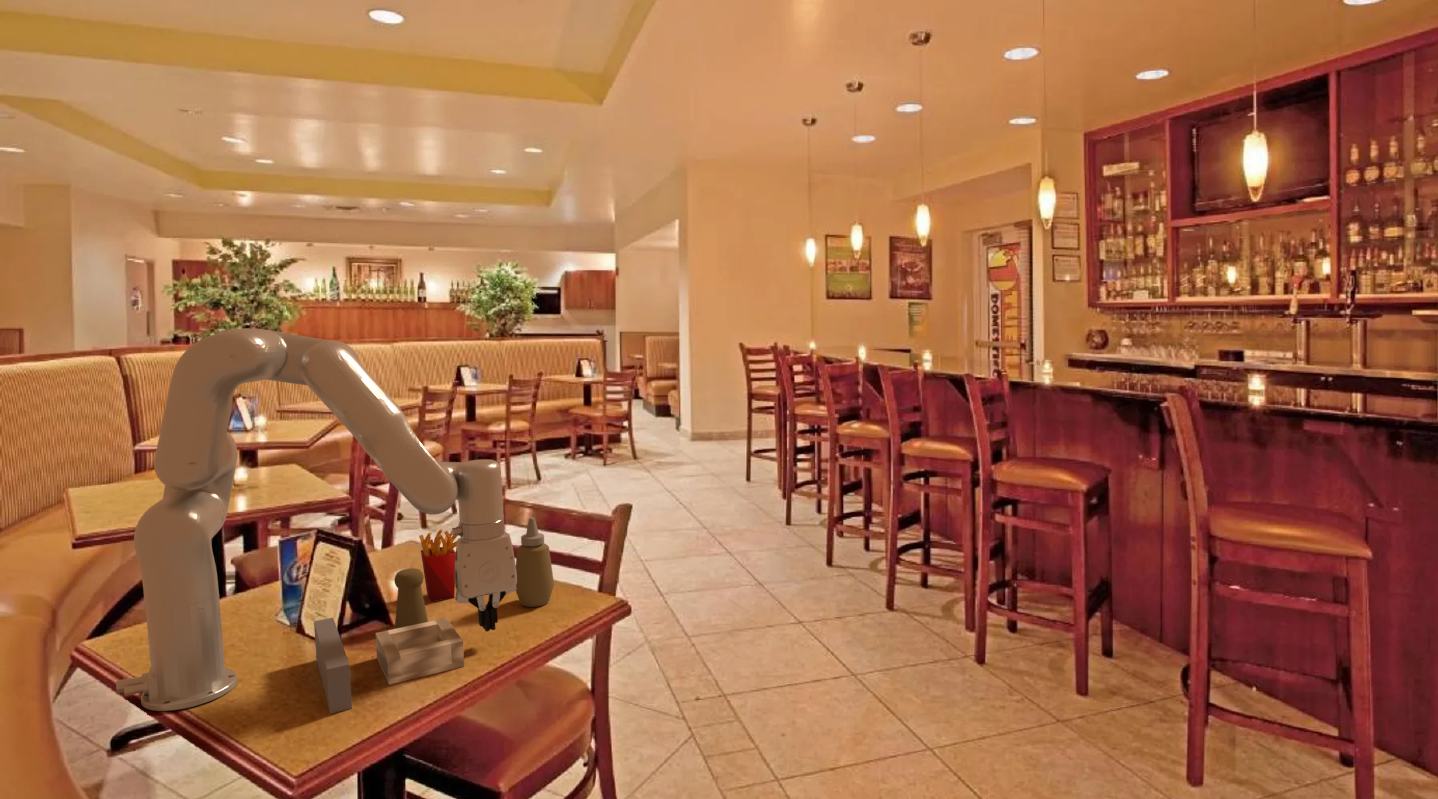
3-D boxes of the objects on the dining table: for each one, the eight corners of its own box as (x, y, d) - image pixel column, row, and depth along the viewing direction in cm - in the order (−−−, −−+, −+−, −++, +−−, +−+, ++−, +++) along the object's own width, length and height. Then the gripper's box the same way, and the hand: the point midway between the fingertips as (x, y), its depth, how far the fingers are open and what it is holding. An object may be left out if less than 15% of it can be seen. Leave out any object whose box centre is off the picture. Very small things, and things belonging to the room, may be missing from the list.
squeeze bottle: (536, 593, 164) (534, 511, 162) (562, 600, 160) (560, 517, 158) (506, 604, 158) (503, 519, 156) (532, 612, 153) (529, 525, 151)
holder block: (388, 684, 123) (387, 658, 123) (376, 657, 133) (375, 633, 133) (464, 666, 130) (463, 640, 129) (447, 641, 140) (446, 618, 139)
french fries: (421, 594, 164) (418, 526, 163) (461, 587, 168) (458, 521, 167) (427, 607, 157) (423, 536, 155) (468, 600, 160) (465, 531, 159)
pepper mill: (416, 632, 144) (413, 576, 143) (388, 630, 145) (384, 574, 144) (434, 620, 150) (431, 566, 149) (406, 618, 151) (404, 564, 150)
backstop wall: (330, 713, 114) (327, 669, 113) (316, 659, 133) (313, 621, 132) (352, 708, 116) (349, 664, 115) (335, 655, 134) (333, 617, 133)
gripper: (444, 542, 128) (451, 646, 130) (530, 526, 136) (535, 625, 138) (434, 532, 134) (441, 631, 136) (517, 518, 142) (522, 612, 144)
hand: (488, 628), depth 137 cm, fingers closed
